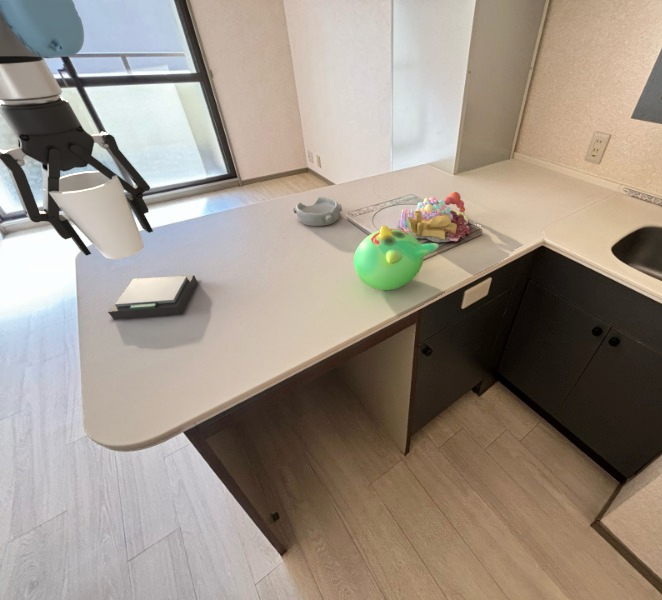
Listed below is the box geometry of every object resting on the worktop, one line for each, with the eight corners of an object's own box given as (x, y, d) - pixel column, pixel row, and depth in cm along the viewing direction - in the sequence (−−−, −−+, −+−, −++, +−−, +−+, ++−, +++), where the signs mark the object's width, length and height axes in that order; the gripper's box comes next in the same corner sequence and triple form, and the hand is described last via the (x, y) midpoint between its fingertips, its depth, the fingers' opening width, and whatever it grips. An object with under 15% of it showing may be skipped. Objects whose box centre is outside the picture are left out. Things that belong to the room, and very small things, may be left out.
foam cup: (163, 247, 62) (127, 179, 53) (109, 270, 56) (59, 198, 47) (137, 232, 66) (100, 166, 57) (84, 252, 60) (33, 183, 51)
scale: (113, 319, 72) (105, 309, 70) (137, 286, 81) (131, 276, 79) (181, 314, 74) (175, 303, 72) (197, 282, 83) (193, 272, 81)
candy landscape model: (475, 246, 101) (480, 218, 94) (399, 244, 100) (400, 216, 94) (463, 210, 119) (467, 185, 113) (399, 208, 119) (400, 183, 113)
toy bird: (393, 256, 95) (394, 209, 85) (436, 282, 86) (443, 233, 76) (343, 281, 85) (338, 231, 76) (386, 313, 76) (387, 262, 67)
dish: (290, 221, 109) (287, 207, 106) (317, 206, 118) (315, 192, 115) (323, 232, 104) (321, 218, 101) (349, 216, 113) (348, 202, 110)
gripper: (110, 86, 53) (170, 213, 68) (-97, 106, 40) (34, 259, 54) (130, 92, 50) (188, 224, 65) (-87, 116, 36) (49, 276, 51)
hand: (118, 240), depth 60 cm, fingers closed on foam cup, 9 cm apart
